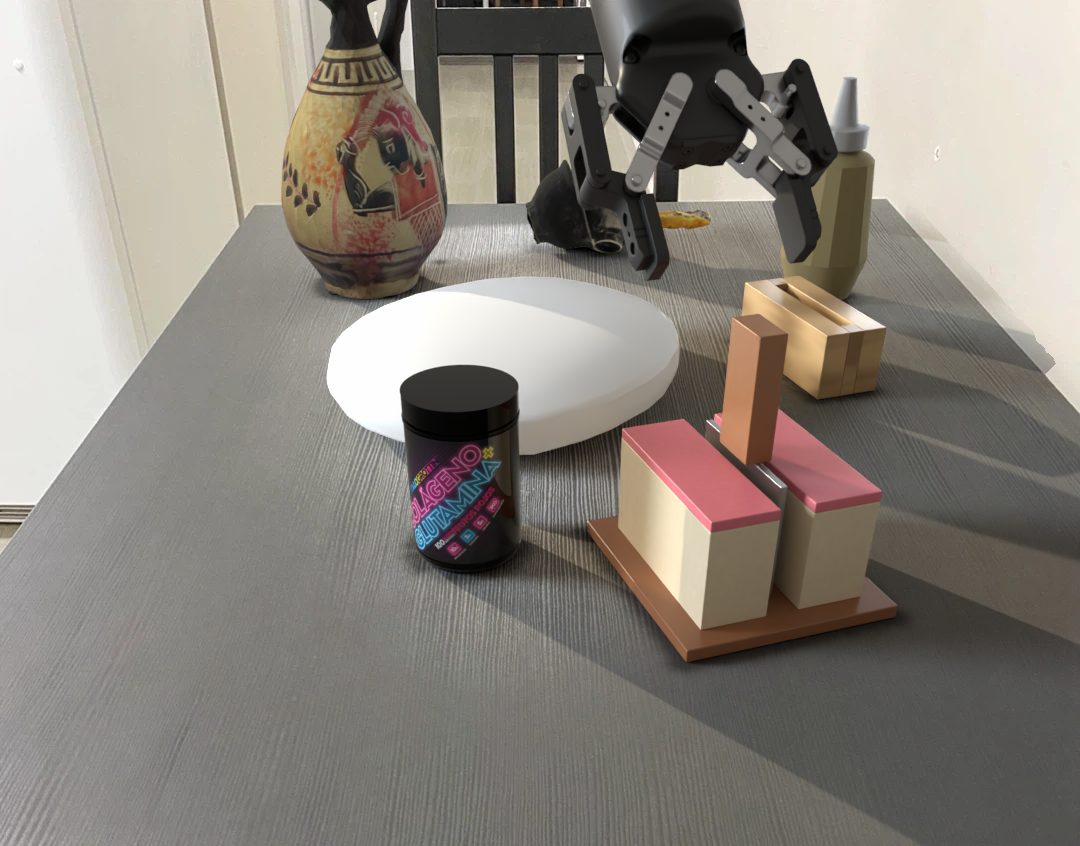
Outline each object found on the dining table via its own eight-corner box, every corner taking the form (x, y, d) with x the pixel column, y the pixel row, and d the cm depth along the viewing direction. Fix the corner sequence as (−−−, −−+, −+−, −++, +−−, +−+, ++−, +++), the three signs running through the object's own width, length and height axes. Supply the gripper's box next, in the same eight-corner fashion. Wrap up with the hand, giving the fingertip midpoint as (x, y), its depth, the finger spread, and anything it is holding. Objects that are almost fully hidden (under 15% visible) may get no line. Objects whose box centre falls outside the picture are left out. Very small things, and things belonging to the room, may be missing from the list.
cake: (586, 531, 69) (588, 421, 65) (769, 498, 72) (783, 391, 68) (686, 663, 58) (697, 542, 54) (896, 617, 62) (924, 499, 57)
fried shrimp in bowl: (515, 188, 117) (674, 123, 115) (550, 291, 120) (706, 229, 118) (511, 173, 109) (683, 102, 106) (549, 284, 112) (717, 218, 109)
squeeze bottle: (811, 275, 108) (842, 66, 97) (878, 295, 103) (918, 78, 92) (757, 292, 104) (781, 77, 93) (823, 314, 100) (858, 90, 88)
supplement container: (393, 544, 68) (376, 383, 62) (480, 511, 71) (473, 355, 65) (454, 590, 64) (443, 422, 58) (544, 553, 67) (543, 390, 61)
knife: (687, 527, 68) (707, 299, 59) (710, 523, 68) (734, 296, 60) (755, 602, 61) (789, 357, 53) (780, 596, 62) (818, 353, 53)
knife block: (738, 341, 95) (744, 282, 92) (791, 333, 96) (799, 275, 93) (817, 399, 85) (827, 336, 82) (875, 390, 86) (887, 327, 83)
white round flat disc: (561, 441, 68) (245, 364, 79) (566, 527, 73) (266, 443, 84) (739, 271, 85) (457, 226, 96) (734, 350, 90) (466, 299, 100)
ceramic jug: (348, 324, 99) (299, -86, 80) (267, 282, 108) (205, -94, 89) (497, 284, 107) (484, -96, 88) (409, 248, 116) (381, -102, 97)
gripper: (549, -72, 53) (629, 239, 52) (806, -81, 57) (887, 210, 56) (517, 40, 60) (588, 315, 59) (747, 25, 64) (818, 285, 63)
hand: (732, 264), depth 57 cm, fingers open, 8 cm apart
